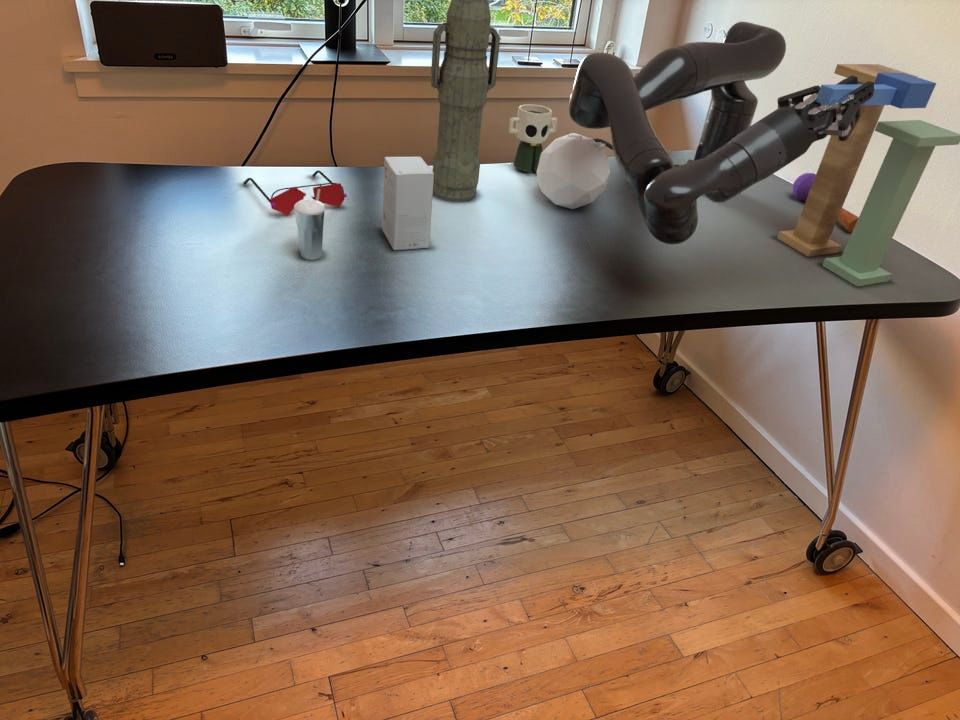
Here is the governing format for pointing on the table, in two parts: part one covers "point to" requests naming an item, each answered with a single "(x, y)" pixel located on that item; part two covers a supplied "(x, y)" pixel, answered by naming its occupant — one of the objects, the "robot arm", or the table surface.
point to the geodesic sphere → (573, 170)
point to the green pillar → (888, 198)
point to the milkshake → (310, 226)
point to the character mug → (531, 134)
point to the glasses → (293, 195)
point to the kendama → (802, 191)
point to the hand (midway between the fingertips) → (863, 84)
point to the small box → (407, 202)
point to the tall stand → (835, 174)
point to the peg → (886, 91)
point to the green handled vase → (462, 96)
